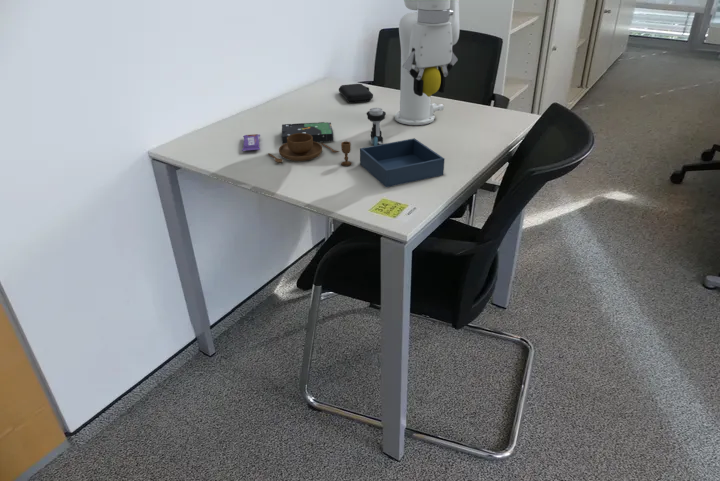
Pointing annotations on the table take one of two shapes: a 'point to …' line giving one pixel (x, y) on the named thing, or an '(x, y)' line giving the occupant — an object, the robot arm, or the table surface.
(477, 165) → the table surface
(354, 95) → the carrying case
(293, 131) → the disk drive
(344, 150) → the place setting
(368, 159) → the bin
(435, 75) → the lemon
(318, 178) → the table surface
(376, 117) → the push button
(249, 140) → the snack package
